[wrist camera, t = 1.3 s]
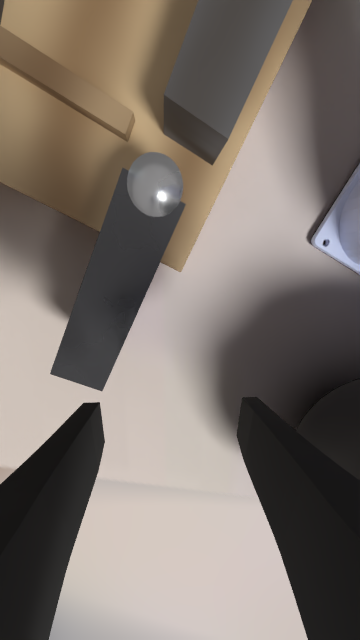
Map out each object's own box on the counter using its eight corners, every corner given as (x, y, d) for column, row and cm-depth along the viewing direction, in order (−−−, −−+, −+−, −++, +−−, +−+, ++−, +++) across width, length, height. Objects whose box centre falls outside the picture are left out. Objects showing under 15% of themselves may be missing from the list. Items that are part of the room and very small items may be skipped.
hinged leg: (141, 164, 11) (133, 134, 8) (189, 193, 12) (198, 175, 9) (72, 348, 14) (49, 374, 11) (113, 363, 15) (101, 392, 12)
